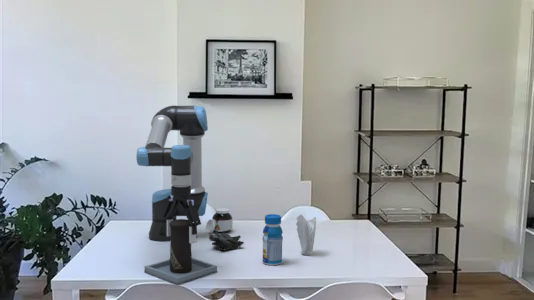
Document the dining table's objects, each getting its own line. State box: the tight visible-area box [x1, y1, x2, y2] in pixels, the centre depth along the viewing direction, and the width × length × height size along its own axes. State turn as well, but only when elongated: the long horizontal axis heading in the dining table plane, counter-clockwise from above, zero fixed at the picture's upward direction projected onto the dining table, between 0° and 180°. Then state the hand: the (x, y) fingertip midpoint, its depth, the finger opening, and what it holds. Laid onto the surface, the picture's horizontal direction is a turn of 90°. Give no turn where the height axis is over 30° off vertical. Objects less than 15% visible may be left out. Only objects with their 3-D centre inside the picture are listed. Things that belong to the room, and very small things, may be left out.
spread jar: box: [205, 207, 234, 234], centre depth 266 cm, size 12×11×12 cm
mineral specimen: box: [208, 232, 245, 251], centre depth 238 cm, size 15×13×10 cm
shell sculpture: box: [296, 214, 317, 256], centre depth 231 cm, size 8×8×18 cm
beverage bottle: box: [262, 213, 284, 266], centre depth 218 cm, size 8×8×20 cm
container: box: [169, 218, 193, 273], centre depth 204 cm, size 9×9×20 cm
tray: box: [143, 257, 218, 286], centre depth 205 cm, size 20×20×2 cm
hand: (181, 239), depth 204 cm, fingers open, 13 cm apart
